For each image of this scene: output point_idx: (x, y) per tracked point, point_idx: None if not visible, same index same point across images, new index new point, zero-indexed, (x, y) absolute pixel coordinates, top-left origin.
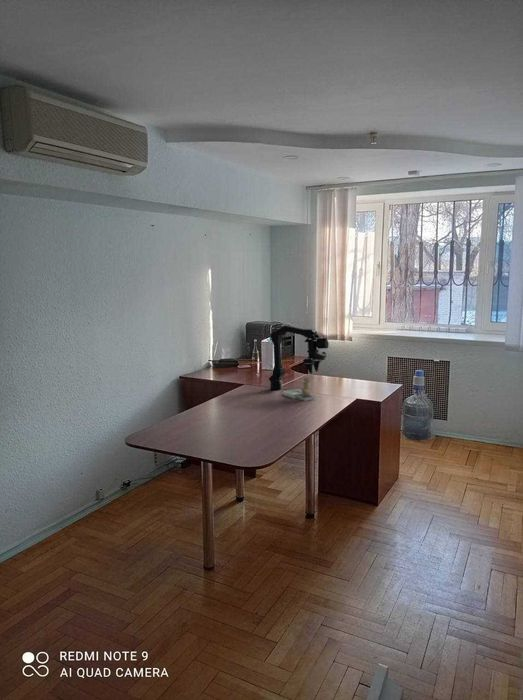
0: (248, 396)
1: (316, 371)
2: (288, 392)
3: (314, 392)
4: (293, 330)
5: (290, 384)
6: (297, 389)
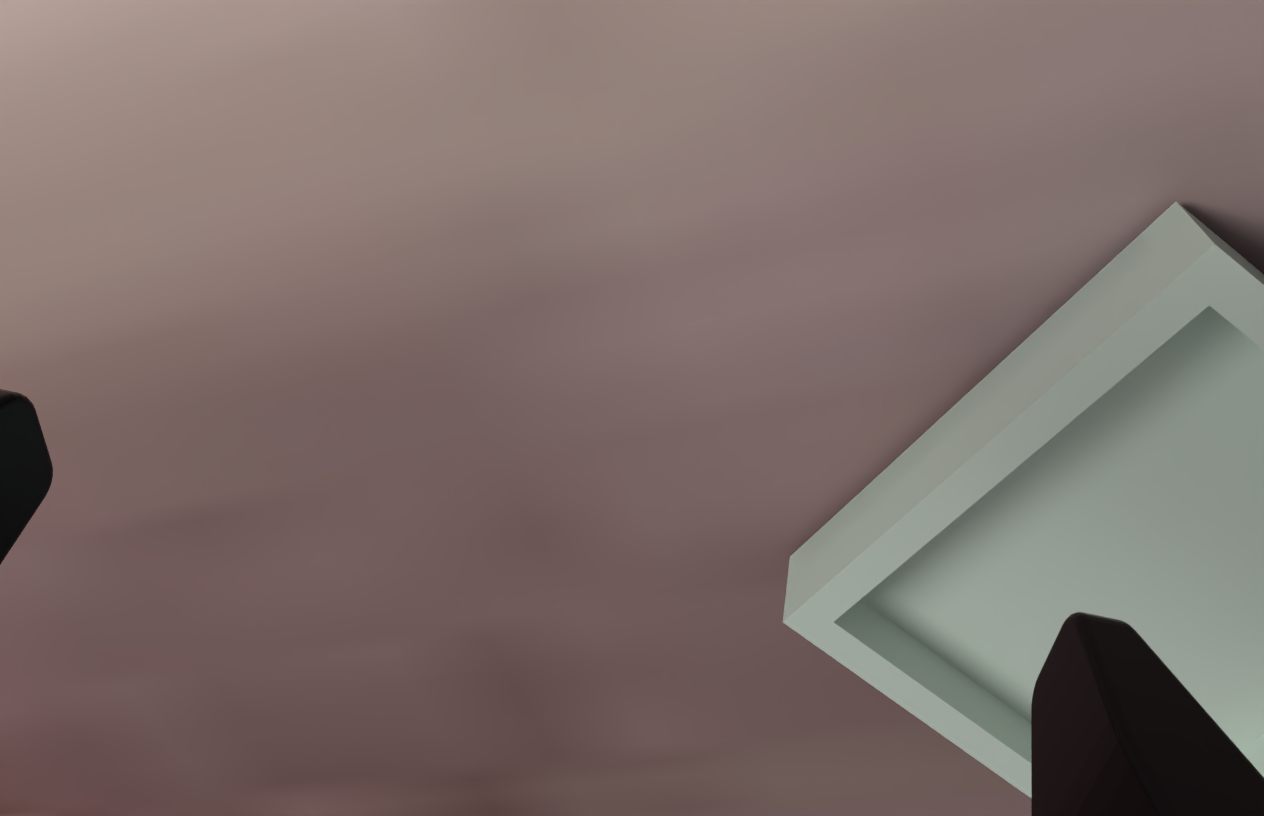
0: None
1: (38, 446)
2: None
3: (479, 165)
4: None
5: (37, 778)
6: (805, 620)
